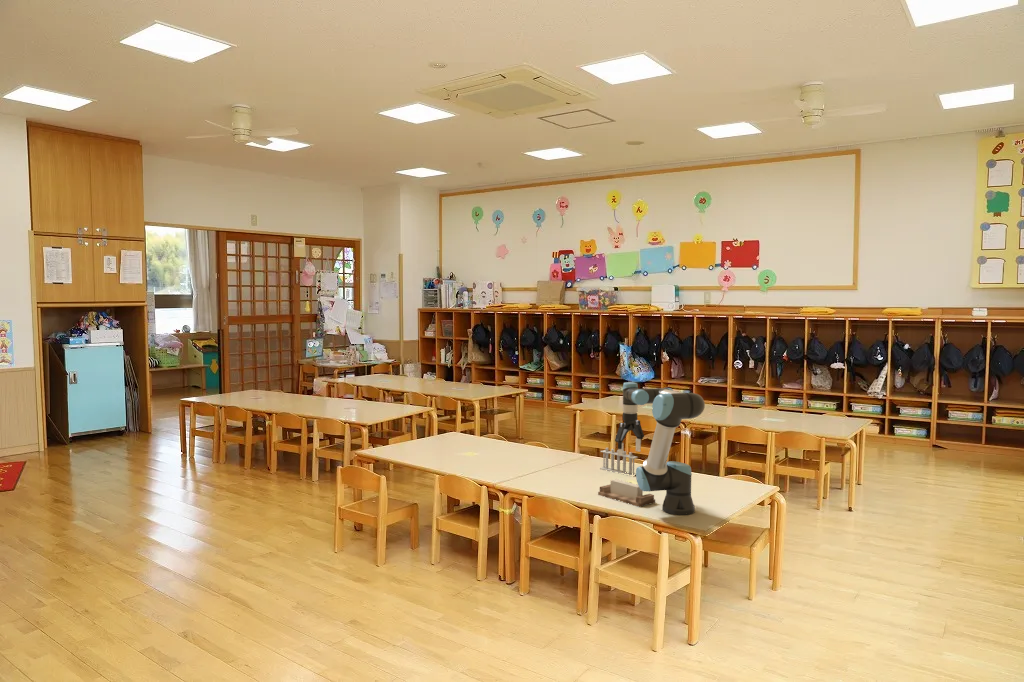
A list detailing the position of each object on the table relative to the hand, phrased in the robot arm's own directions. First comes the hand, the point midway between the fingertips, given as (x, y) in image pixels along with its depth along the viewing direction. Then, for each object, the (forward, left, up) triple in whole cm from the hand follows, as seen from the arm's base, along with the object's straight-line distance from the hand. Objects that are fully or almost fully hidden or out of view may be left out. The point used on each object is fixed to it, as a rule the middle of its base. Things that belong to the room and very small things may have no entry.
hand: (629, 453), depth 365 cm
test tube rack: (+39, -34, -23) cm, 56 cm away
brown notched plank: (-2, +5, -22) cm, 23 cm away
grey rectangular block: (-2, +5, -21) cm, 22 cm away
